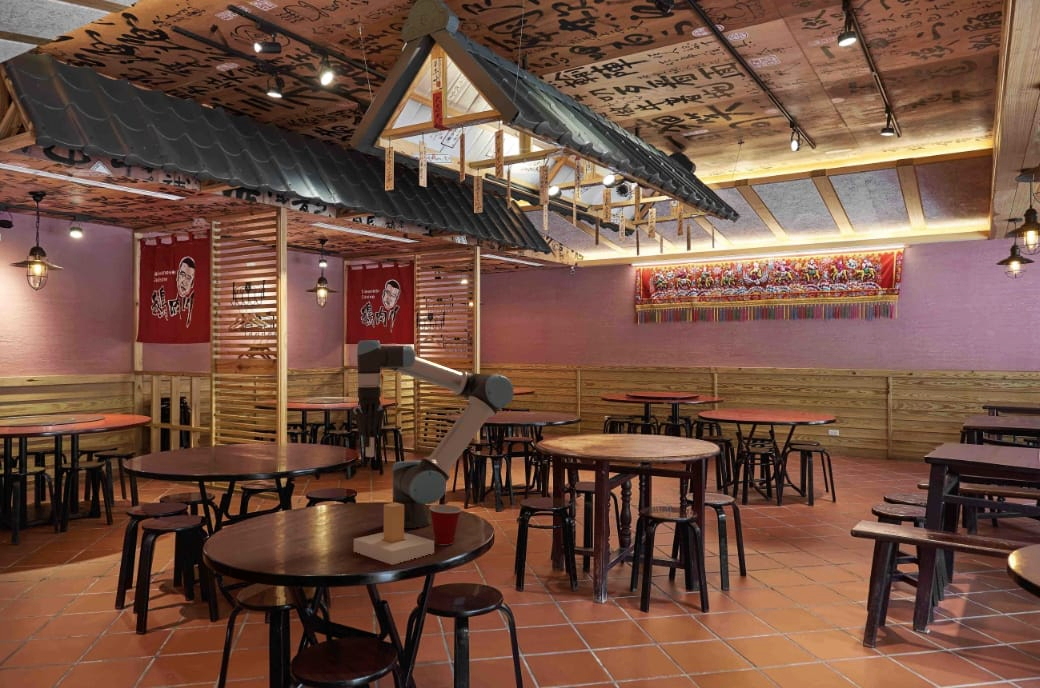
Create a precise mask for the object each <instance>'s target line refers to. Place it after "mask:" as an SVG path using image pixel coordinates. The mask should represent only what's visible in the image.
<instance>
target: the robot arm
mask: <svg viewBox="0 0 1040 688" xmlns="http://www.w3.org/2000/svg"><path fill="white" fill-rule="evenodd" d="M356 350H357V353H356V358H357V359H356V360H357V385H358V386H359V387H358V388H357V397H358V402H357V406H355V407H352V408H351V411H352V413H353V415H354V419H355V423H356V429H357V434H358V436H360V437H362V438H363V446H364V448H365V457H368V458H374V457H375V446H376V445H377V444H376V443H377V442H376V438H377V437H378V436H379V435H380V434H381V433H382V427H383V421H384V415H385V412H386V409H387V406H386V405H383V404H382V402H381V399H380V398H381V394H382V393H381V390H382V389H381V386H380V385H382V383H381V382H382V381H381V378H382V377H381V369H388V370H391V371H394V372H397V373H400V374H402V375H407V376H409V377H412V378H415V379H418V380H421V381H424V382H427V383H429V384H432V385H434V386H435V385H436V386H438V387H441V388H444V389H446V390H449V391H453V394H454V395H457V396H460V397H462V398H464V399H466V400H468V404H467V406H466V407H465V409H464V410H463V411H462V413H461V414H460V415H459V416H458V418H457V419H456V420H455V422H454V423H453V425H452V426H451V428H450V429H449V430H447V432H446V434H445V435H444V437H443V438H442V439H441V441H440V442H439V444H437V446H436V448H435V449H434V450H433V452H431V454H430V455H429V456H424V457H422V459H421V460H408V461H407V460H404V461H403V460H402V461H397V462H394V463H393V464H392V465H393V466H392V473H391V474H392V503H395V502H396V503H400V504H404V528H414V529H417V528H416V527H421V528H423V527H422V526H425V525H427V524H429V523H431V521H430V517H431V516H430V515H429V512H428V509H427V505H431V504H435V503H436V502H439V500H441V498H442V497H443V496H444V495H445V493H446V490H447V482H448V480H450V477H451V475H450V470H451V469H452V468H453V466H454V465H455V463H456V462H457V461H458V460H459V458H460V456H461V455H462V454H463V452H464V451H465V450H466V449H467V447H468V446H469V444H470V443H471V442H472V440H473V439H474V437H475V436H476V435H477V434H478V432H479V430H480V429H481V428H482V426H483V425H484V424H485V423H486V421H487V420H488V418H492V417H495V415H497V413H498V411H500V409H501V408H503V409H504V407H507V406H508V405H509V404H510V403H511V402H512V400H513V398H514V386H513V384H512V381H511V380H510V379H509V378H508V377H506V376H504V375H501V374H498V373H494V374H488V373H475V372H470V371H466V370H463V369H462V370H460V371H458V370H455V369H453V368H449V367H448V366H443V365H441V364H439V363H436V362H433V361H429V360H428V359H427V360H426V359H424V358H422V357H419V356H416V352H415V349H414V347H413V346H411V345H382V344H381V342H380V340H378V339H377V340H375V339H373V340H372V339H371V340H367V339H366V340H360V341H358V343H357V349H356ZM429 525H430V524H429ZM427 526H428V525H427ZM425 527H426V526H425Z"/></svg>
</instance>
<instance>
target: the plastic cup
mask: <svg viewBox="0 0 1040 688" xmlns="http://www.w3.org/2000/svg"><path fill="white" fill-rule="evenodd" d="M428 508H429V511H430V514H431V516H430V517H431V521H432V528H433V534H434V539H435V540H434V542H435V544H436V543H437V544H450V543H453V542H454V543H455V538H456V533H457V528H458V523H459V518H460V515H461V512H463V508H462V507H460V506H457V505H456V506H455V505H451V504H434V505H430V506H429V507H428ZM454 543H453V544H454ZM437 544H436V545H437Z"/></svg>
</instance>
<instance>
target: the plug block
mask: <svg viewBox="0 0 1040 688" xmlns="http://www.w3.org/2000/svg"><path fill="white" fill-rule="evenodd" d="M383 532H384V541H385V542H389V543H396V542H400V541H404V532H405V529H404V504H400V503H396V502H395V503H393V502H391V503H385V504H383Z"/></svg>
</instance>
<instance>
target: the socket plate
mask: <svg viewBox="0 0 1040 688" xmlns="http://www.w3.org/2000/svg"><path fill="white" fill-rule="evenodd" d="M356 552H357V554H359V553H360V554H359V555H363V556H365V557H369V558H371V559H374V560H378V561H380V562H383V563H385V564H388V565H392V566H393V565H397V564H400V562H401V563H404V561H405V562H408V561H412V560H415V559H414V558H416V559H420V558H422V557H421V556H424V557H426V556H425V555H428V554H431V555H433V554H432V553H434V554H435V540H432V539H428V538H425V537H421V536H419V535H415V534H411V533H408V532H405V531H404V541H400V542H396V543H389V542H385V541H384V531H383V532H378V533H375V534H370V535H366V536H361V537H356V538H353V553H356ZM428 556H429V555H428ZM419 557H420V558H419ZM411 559H412V560H411Z"/></svg>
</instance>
